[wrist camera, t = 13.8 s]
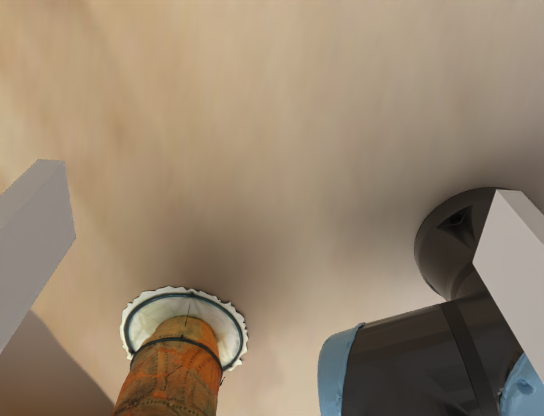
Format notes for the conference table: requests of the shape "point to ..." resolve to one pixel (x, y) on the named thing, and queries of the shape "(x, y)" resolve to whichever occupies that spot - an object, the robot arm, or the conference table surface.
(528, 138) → the conference table surface
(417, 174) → the conference table surface
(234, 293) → the conference table surface
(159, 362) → the decorative vase
